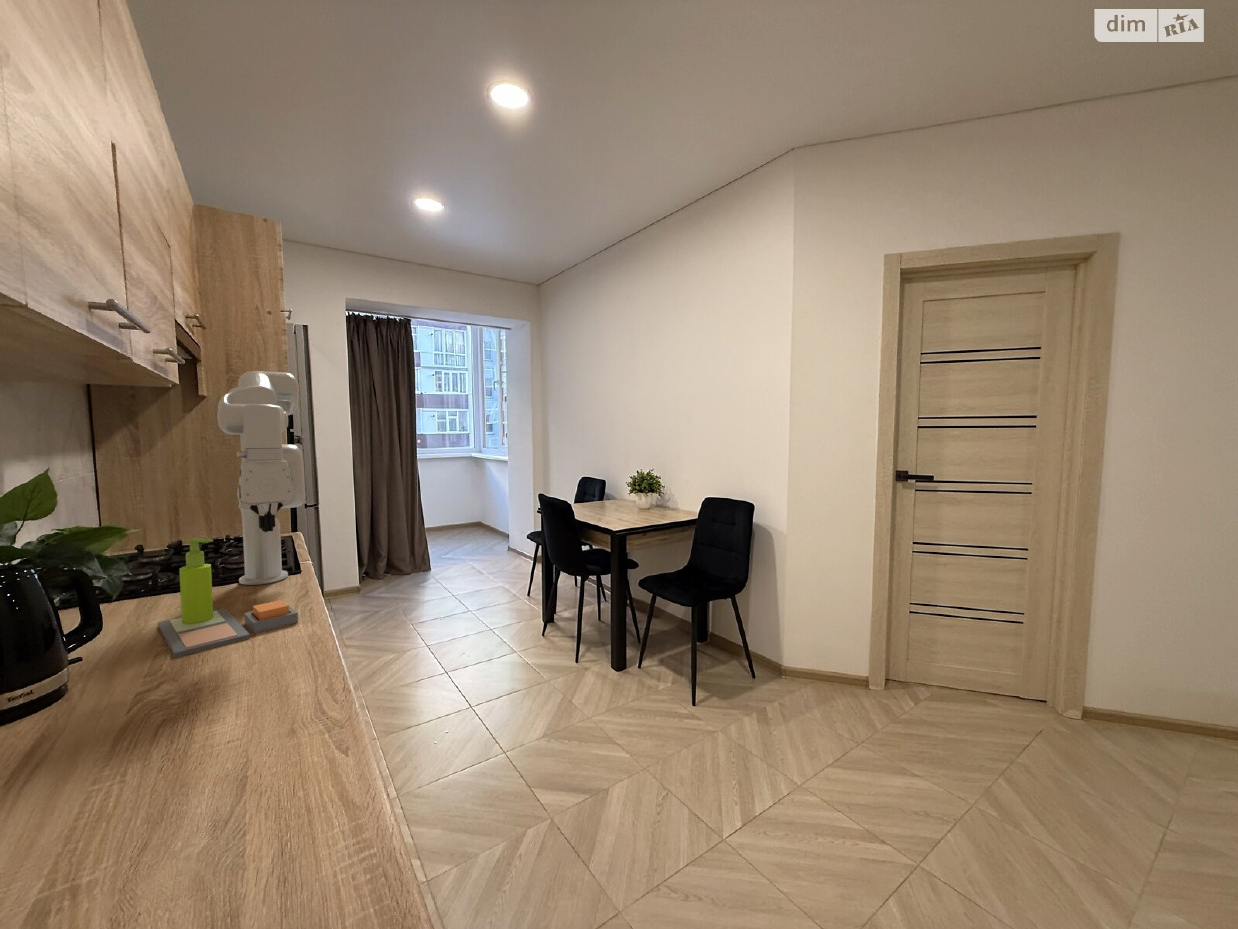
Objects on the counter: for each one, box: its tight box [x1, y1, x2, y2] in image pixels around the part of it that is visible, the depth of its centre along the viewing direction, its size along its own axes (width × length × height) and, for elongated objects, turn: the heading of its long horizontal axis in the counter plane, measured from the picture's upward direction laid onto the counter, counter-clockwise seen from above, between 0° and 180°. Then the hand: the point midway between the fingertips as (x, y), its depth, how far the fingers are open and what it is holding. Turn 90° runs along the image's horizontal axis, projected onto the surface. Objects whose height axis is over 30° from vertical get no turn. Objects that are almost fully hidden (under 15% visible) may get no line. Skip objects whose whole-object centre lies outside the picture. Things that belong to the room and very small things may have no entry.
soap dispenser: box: [178, 537, 214, 624], centre depth 123 cm, size 6×7×20 cm
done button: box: [252, 599, 290, 620], centre depth 125 cm, size 6×6×2 cm
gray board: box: [157, 608, 251, 658], centre depth 119 cm, size 24×13×1 cm, turn 48°
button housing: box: [243, 604, 299, 634], centre depth 125 cm, size 9×9×2 cm
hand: (267, 530), depth 123 cm, fingers closed
